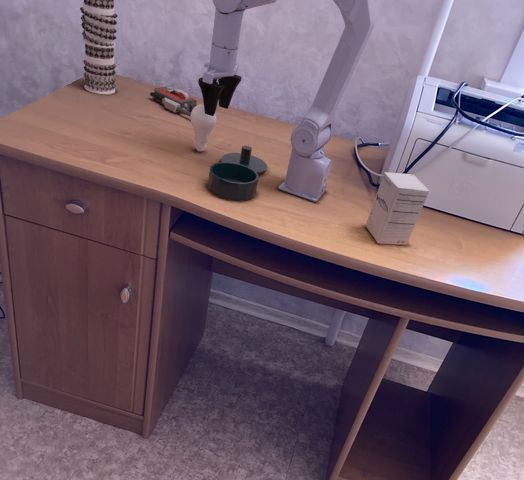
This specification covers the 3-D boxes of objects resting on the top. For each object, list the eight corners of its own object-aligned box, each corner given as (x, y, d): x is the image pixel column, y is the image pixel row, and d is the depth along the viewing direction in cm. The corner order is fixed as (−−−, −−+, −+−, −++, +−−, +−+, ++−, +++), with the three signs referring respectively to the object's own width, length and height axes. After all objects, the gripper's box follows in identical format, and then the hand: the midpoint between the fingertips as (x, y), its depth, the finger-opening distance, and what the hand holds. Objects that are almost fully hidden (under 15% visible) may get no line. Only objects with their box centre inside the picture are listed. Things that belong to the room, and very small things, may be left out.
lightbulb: (183, 152, 127) (187, 104, 120) (192, 144, 131) (196, 98, 124) (207, 158, 126) (213, 111, 119) (215, 150, 131) (221, 104, 124)
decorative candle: (110, 97, 146) (110, -9, 130) (77, 89, 145) (73, -18, 129) (121, 88, 153) (122, -13, 137) (89, 81, 152) (87, -22, 136)
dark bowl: (262, 189, 119) (265, 172, 116) (244, 206, 111) (247, 188, 109) (220, 174, 121) (222, 157, 118) (199, 190, 113) (201, 172, 110)
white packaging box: (364, 226, 115) (383, 170, 106) (394, 228, 117) (415, 173, 109) (376, 244, 109) (397, 187, 101) (407, 245, 112) (431, 190, 103)
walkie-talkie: (143, 99, 150) (195, 124, 142) (144, 82, 147) (197, 107, 140) (165, 96, 156) (216, 119, 148) (166, 80, 153) (218, 103, 146)
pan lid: (273, 167, 130) (276, 148, 127) (256, 181, 122) (259, 161, 119) (232, 153, 132) (235, 134, 129) (212, 166, 124) (215, 146, 121)
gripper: (222, 36, 119) (214, 99, 128) (192, 44, 108) (186, 112, 117) (250, 45, 118) (240, 108, 127) (223, 54, 107) (214, 122, 116)
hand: (216, 110), depth 122 cm, fingers open, 7 cm apart
